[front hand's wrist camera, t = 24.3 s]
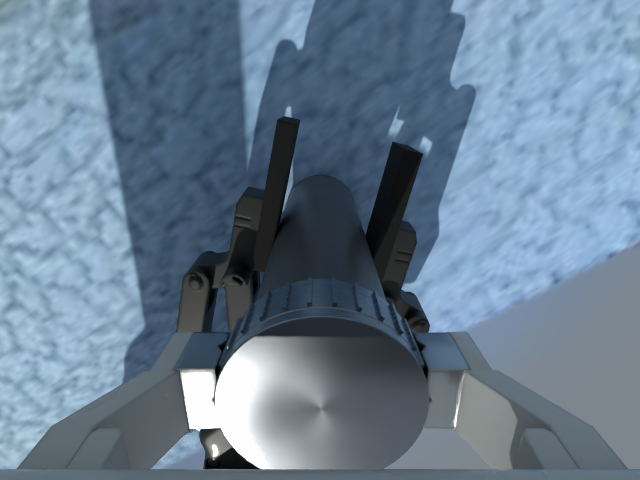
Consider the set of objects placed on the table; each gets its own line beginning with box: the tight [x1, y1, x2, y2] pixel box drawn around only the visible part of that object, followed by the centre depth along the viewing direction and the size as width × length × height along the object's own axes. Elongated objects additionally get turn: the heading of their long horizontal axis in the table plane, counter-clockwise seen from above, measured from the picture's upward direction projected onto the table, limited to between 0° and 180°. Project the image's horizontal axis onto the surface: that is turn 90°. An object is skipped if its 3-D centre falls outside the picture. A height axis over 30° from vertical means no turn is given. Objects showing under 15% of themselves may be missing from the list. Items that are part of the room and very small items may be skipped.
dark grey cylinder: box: [256, 175, 386, 301], centre depth 17 cm, size 4×4×16 cm
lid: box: [214, 278, 429, 469], centre depth 9 cm, size 5×5×2 cm
